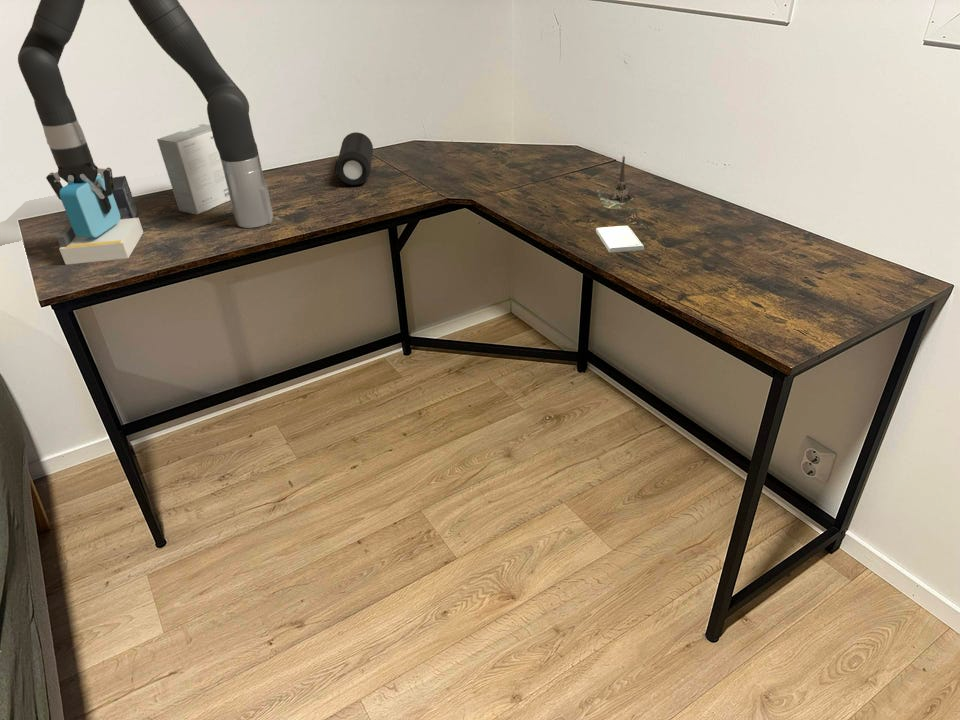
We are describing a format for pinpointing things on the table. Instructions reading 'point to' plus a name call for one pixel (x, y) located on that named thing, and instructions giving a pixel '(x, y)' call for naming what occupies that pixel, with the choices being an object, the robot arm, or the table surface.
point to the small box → (124, 198)
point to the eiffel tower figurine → (617, 193)
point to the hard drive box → (194, 169)
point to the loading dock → (100, 243)
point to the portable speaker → (355, 159)
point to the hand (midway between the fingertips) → (94, 213)
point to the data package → (88, 209)
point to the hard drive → (619, 239)
